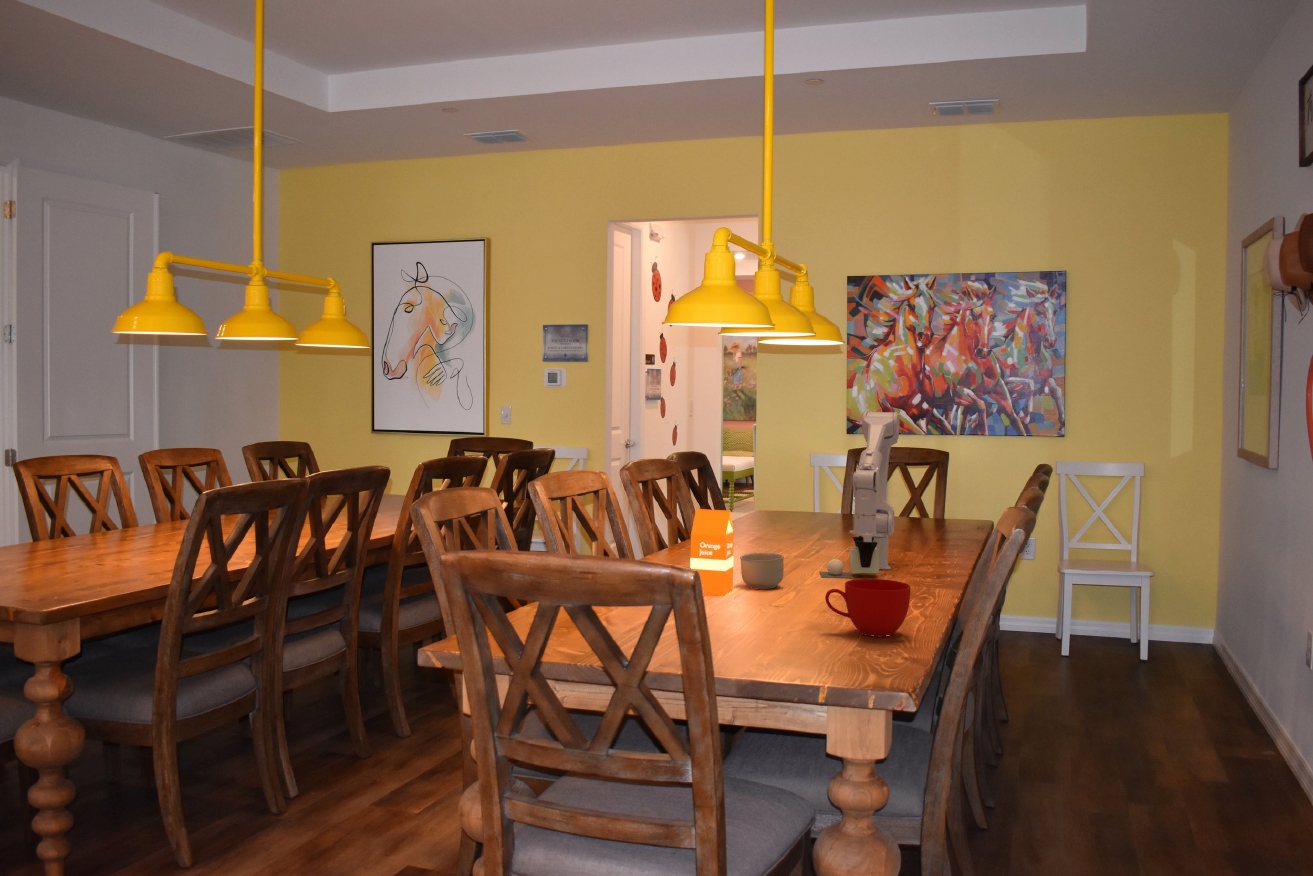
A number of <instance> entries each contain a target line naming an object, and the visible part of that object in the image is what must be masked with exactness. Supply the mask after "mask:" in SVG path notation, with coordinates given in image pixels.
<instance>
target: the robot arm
mask: <svg viewBox="0 0 1313 876" xmlns="http://www.w3.org/2000/svg"><path fill="white" fill-rule="evenodd" d="M900 419H901V418H900V414H899V413H898V412H897V411H893V412H887V411H886V412H884V411H883V412H882V411H865V412H864V413H863V414H862V417H861V420H862V421H861V428H862V432H863V437H864V439H865V443H866V447H865V448H866V449H864V450H862V452H861V453H860V456H859V457H860V458H859V461H858V462H859V463H858V465H857V466H858V467H857V470H856V471H854V472H853V474H852V489H853V497H854V518H853V519H854V524H853V525H854V526H853V527H854V528H853V530H849V534H850V535H851V534H853V535H855V536H853V537H852V540H853V543H854V544H855V547H858V550H859V554H860V562H861V567H863V568H870V565H871V560H872V555H873V552H874V550H875V547H877V548H878V552H879V570H891V566H890V565H889V537H890V536H892V535H893V534H894V531H895V520H896V519H895V510H894V508H893V506H891V505H890V504H889V503H888V502H887V501H886V496H887V484H888V474H889V460H890V453H891V450H892V446H894V445H896V444H897V443H898V440H899V438H900V437H899V436H900V434H899V433H900Z"/></svg>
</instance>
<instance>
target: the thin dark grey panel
mask: <svg viewBox="0 0 1313 876" xmlns="http://www.w3.org/2000/svg"><path fill="white" fill-rule="evenodd" d="M819 575H820V578H823V579H825V578H827V579H828V578H829V579H836V578H837V579H853V577H852V575H851V573H850V572H849V571H848V572H847V571H845V572H844V571H843V572H842V573H841V574H839V575H832V574H830V573H829V572H828V571H819Z"/></svg>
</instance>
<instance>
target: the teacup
mask: <svg viewBox="0 0 1313 876" xmlns="http://www.w3.org/2000/svg"><path fill="white" fill-rule="evenodd" d="M784 557H785V556H784V555H783V554H780V553H775V552H751V553H746V554H743V555H741V556H740V557H739V559H740V569H741V571H740V572H741V578H742V581H743V582H744V584H746V585H747V586H748V587H749V588H751V587H752V588H751V589H754V588H758V589H757V590H769V589H775V588H776V587H777V586H778V585H780V583H781V582H782V581H783V578H784V573H785V572H784V570H785V569H784Z"/></svg>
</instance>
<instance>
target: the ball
mask: <svg viewBox="0 0 1313 876" xmlns="http://www.w3.org/2000/svg"><path fill="white" fill-rule="evenodd" d="M826 568H827V572H829V573H830V574H832V575H839V574H841V573H842V572H844V569H845V567H844V564H843V562H842V561H841V560H840V559H838V558H833V559H830V560H829V561H828V562H827V565H826Z"/></svg>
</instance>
